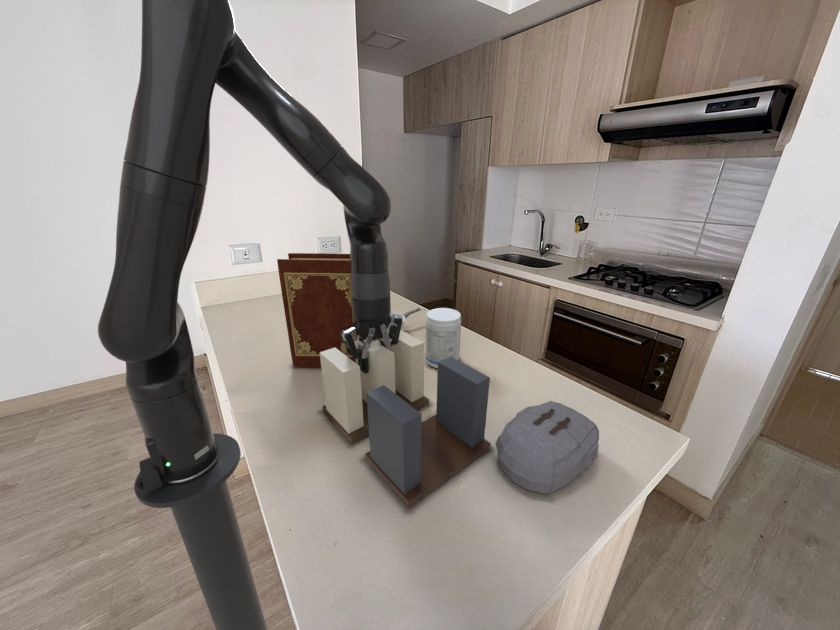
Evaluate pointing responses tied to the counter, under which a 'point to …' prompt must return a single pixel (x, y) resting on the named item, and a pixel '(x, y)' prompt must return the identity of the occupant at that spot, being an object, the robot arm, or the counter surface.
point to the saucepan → (403, 316)
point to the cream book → (378, 369)
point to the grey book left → (395, 437)
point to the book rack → (424, 452)
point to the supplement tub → (442, 335)
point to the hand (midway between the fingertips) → (374, 367)
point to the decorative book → (316, 304)
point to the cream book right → (409, 366)
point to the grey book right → (462, 400)
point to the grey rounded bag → (547, 446)
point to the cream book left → (342, 389)
